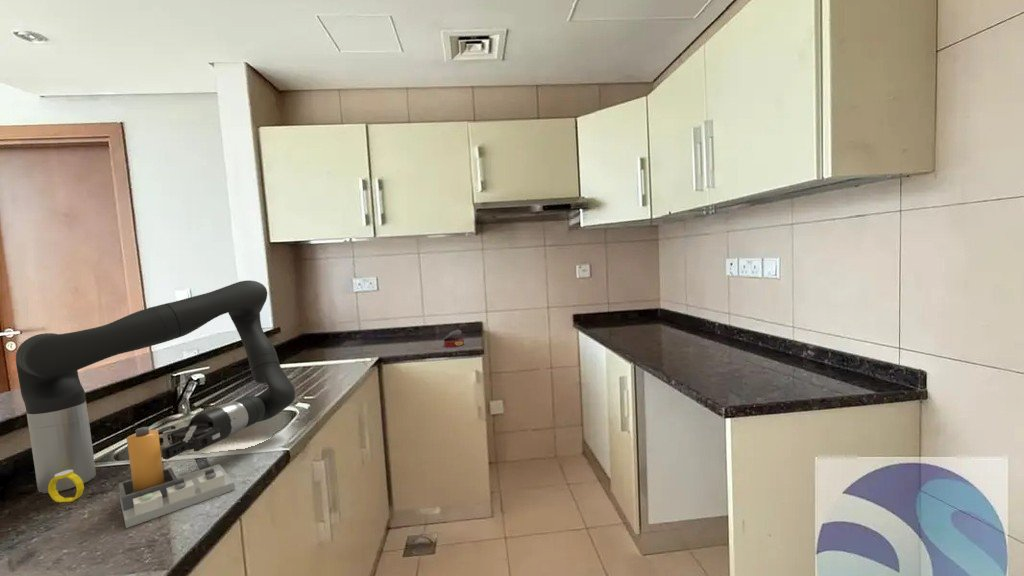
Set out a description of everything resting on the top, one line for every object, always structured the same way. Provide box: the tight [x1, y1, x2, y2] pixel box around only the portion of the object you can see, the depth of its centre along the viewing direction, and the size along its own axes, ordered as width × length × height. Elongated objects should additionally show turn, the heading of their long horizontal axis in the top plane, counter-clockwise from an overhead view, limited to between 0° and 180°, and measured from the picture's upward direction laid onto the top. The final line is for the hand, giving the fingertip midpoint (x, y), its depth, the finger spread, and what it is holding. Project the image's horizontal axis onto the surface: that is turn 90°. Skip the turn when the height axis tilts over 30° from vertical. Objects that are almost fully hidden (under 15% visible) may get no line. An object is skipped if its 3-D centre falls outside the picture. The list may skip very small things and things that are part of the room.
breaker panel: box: [118, 463, 236, 529], centre depth 91 cm, size 13×17×4 cm
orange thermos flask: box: [126, 426, 164, 493], centre depth 89 cm, size 5×5×13 cm
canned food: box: [443, 329, 465, 348], centre depth 229 cm, size 11×10×10 cm
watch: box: [48, 470, 85, 503], centre depth 92 cm, size 6×3×6 cm, turn 91°
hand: (147, 453), depth 90 cm, fingers open, 8 cm apart
